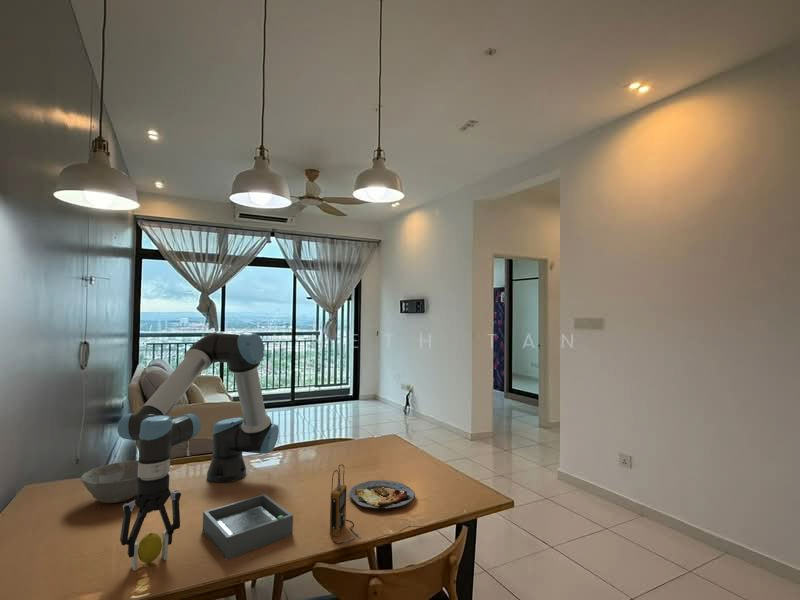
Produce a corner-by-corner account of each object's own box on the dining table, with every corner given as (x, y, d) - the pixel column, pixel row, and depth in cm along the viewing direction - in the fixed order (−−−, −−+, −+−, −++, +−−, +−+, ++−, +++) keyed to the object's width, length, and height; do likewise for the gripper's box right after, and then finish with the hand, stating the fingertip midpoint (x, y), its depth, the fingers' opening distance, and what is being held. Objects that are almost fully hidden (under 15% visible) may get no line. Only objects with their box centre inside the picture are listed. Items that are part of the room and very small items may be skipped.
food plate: (426, 504, 148) (426, 494, 148) (368, 520, 136) (368, 509, 137) (392, 482, 170) (392, 473, 170) (340, 493, 158) (340, 484, 158)
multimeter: (356, 547, 120) (358, 478, 121) (324, 543, 122) (326, 474, 123) (370, 523, 134) (371, 461, 135) (341, 519, 136) (343, 458, 137)
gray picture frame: (213, 523, 127) (214, 519, 127) (260, 508, 137) (260, 505, 137) (232, 543, 116) (232, 539, 116) (281, 526, 126) (281, 522, 126)
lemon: (144, 557, 112) (145, 528, 113) (165, 557, 113) (166, 527, 113) (132, 570, 107) (134, 538, 107) (154, 569, 107) (156, 538, 108)
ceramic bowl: (164, 498, 149) (166, 470, 149) (86, 520, 132) (88, 489, 132) (146, 481, 164) (147, 455, 164) (73, 498, 147) (75, 470, 147)
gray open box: (202, 531, 127) (203, 509, 127) (264, 511, 140) (264, 492, 141) (226, 560, 112) (227, 536, 112) (292, 535, 125) (293, 513, 126)
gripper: (113, 489, 102) (108, 584, 101) (196, 470, 115) (192, 554, 114) (108, 480, 107) (103, 570, 106) (188, 463, 120) (184, 543, 119)
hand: (149, 562), depth 110 cm, fingers open, 6 cm apart
